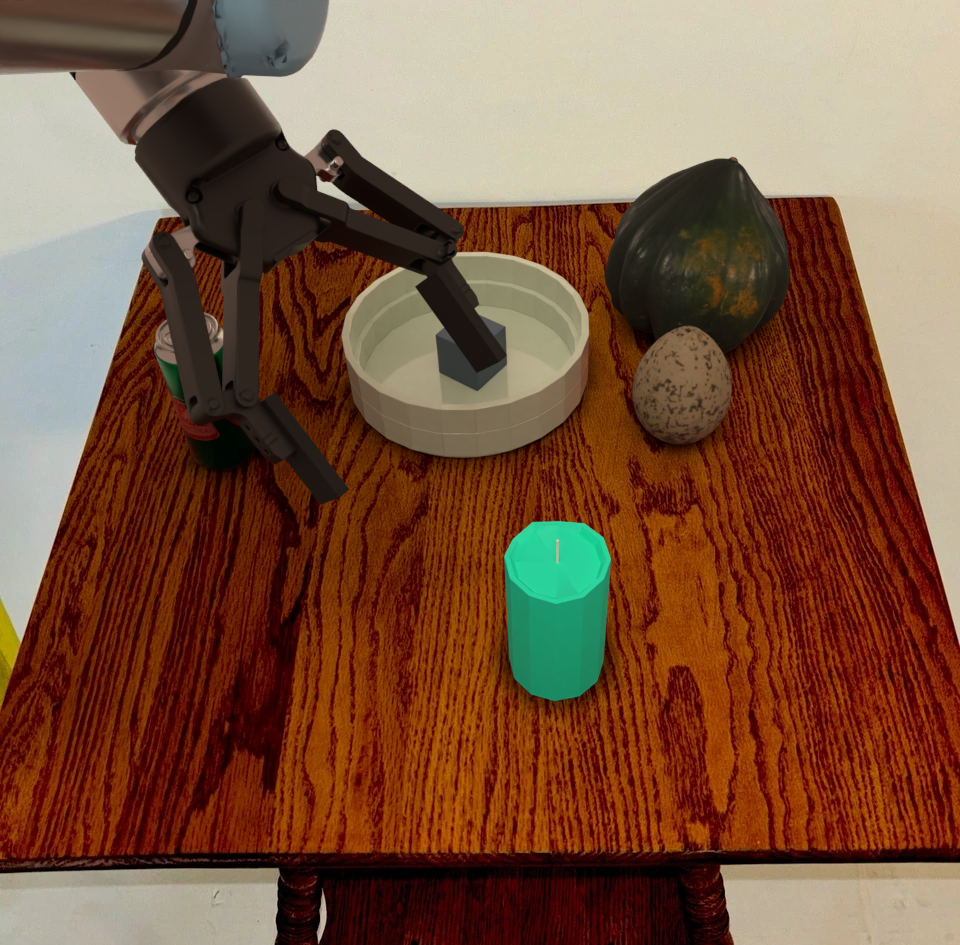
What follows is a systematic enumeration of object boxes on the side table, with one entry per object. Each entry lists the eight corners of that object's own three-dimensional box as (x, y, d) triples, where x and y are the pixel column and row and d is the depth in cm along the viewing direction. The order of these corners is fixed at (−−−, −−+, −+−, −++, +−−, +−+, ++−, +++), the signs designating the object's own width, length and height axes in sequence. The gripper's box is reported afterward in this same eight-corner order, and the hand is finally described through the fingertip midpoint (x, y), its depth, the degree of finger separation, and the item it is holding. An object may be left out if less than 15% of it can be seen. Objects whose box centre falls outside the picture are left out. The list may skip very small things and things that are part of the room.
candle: (620, 647, 66) (631, 527, 58) (572, 717, 63) (576, 601, 54) (541, 606, 69) (540, 485, 60) (490, 671, 66) (482, 553, 57)
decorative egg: (636, 394, 82) (645, 293, 75) (728, 407, 81) (746, 304, 74) (622, 458, 78) (629, 356, 70) (718, 472, 76) (737, 370, 69)
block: (477, 391, 82) (474, 353, 80) (438, 372, 84) (434, 334, 81) (507, 364, 85) (506, 326, 82) (469, 346, 86) (466, 308, 83)
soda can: (180, 455, 80) (134, 335, 71) (229, 419, 83) (192, 298, 74) (222, 485, 78) (180, 364, 69) (272, 446, 80) (238, 325, 71)
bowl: (458, 501, 75) (453, 449, 71) (305, 377, 86) (293, 325, 82) (636, 376, 84) (640, 323, 80) (477, 276, 94) (474, 224, 90)
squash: (584, 334, 79) (732, 193, 71) (565, 229, 90) (692, 97, 82) (709, 417, 86) (858, 297, 78) (678, 310, 96) (806, 195, 88)
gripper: (323, 58, 65) (516, 333, 69) (-25, 246, 53) (235, 569, 57) (374, -9, 59) (582, 298, 63) (-9, 187, 46) (282, 555, 51)
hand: (418, 427), depth 60 cm, fingers open, 13 cm apart
